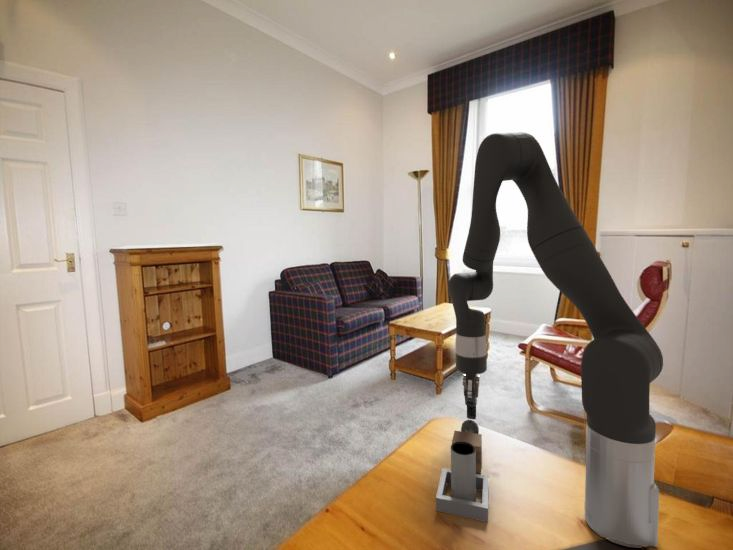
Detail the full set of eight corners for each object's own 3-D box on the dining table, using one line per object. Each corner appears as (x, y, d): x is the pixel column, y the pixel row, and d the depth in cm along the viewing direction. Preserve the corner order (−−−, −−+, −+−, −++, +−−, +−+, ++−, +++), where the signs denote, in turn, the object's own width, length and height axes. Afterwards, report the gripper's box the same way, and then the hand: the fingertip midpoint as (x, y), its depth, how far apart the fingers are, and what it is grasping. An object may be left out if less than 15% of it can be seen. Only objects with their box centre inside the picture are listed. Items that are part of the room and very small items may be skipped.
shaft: (478, 437, 85) (478, 421, 84) (476, 460, 76) (476, 442, 75) (461, 434, 86) (461, 418, 86) (457, 456, 77) (457, 439, 77)
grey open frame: (488, 488, 70) (488, 476, 70) (487, 522, 61) (487, 508, 61) (442, 479, 73) (442, 467, 73) (436, 510, 65) (435, 497, 64)
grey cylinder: (477, 509, 64) (476, 455, 64) (451, 506, 65) (450, 453, 64) (474, 492, 69) (474, 442, 68) (451, 489, 70) (450, 440, 69)
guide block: (481, 462, 78) (481, 434, 77) (480, 477, 73) (480, 446, 73) (454, 458, 80) (454, 430, 79) (452, 471, 75) (451, 442, 75)
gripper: (485, 361, 81) (486, 433, 83) (487, 345, 93) (487, 408, 95) (452, 358, 84) (453, 428, 85) (458, 343, 96) (459, 404, 97)
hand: (471, 417), depth 90 cm, fingers closed
